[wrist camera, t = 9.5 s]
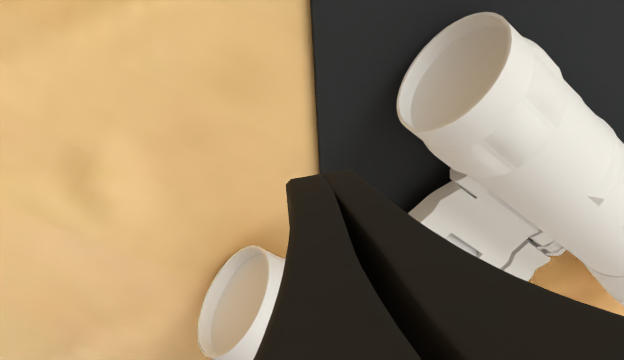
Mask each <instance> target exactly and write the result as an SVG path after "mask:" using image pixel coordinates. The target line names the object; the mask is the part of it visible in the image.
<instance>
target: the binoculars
mask: <svg viewBox="0 0 624 360" xmlns="http://www.w3.org/2000/svg"><path fill="white" fill-rule="evenodd" d="M397 114H398V117H399V119H400V122H401V123H402V124H403V125H404V126H405V127H406V128H407V129H408V130H410V131H411V132H412V133H413V134H415V135H416V136H417V137H419V138H420V139H421V140H423V141H424V144H425V145H426V146H427V148H428V149H429V150H430V151H431V152H432V153H433V154H434V155H435V156H436V157H438V158H439V159H440V160H442V161H443V162H444V163H445V164H447V165H448V166H449V167H451V169H450V179H451V180H453V181H451V182H449V183H448V184H446V185H444V186H442V187H441V188H439V189H437V190H436V191H434V192H433V193H431V194H430V195H429V196H427V197H426V198H425V199H424V200H423V201H421V202H420V203H419V204H418V205H417V206H416V207H415V208H414V209H412V210H411V211H410V212H409V213H408V214H409V215H410V216H412V217H413V218H414V219H416V220H417V221H419V222H420V223H422V224H423V225H425V226H426V227H428V228H429V229H430V230H432V231H434V232H435V233H437V234H438V235H440V236H442V237H443V238H445V239H446V240H448V241H449V242H451V243H453V244H454V245H456V246H458V247H459V248H461V249H463V250H465V251H466V252H468V253H470V254H472V255H474V256H476V257H478V258H480V259H482V260H483V261H485V262H487V263H489V264H491V265H493V266H495V267H497V268H499V269H501V270H503V271H505V272H507V273H509V274H512V275H514V276H516V277H518V278H521V279H523V280H525V281H528V280H529V279H531V278H532V276H533V274H534V272H535V270H536V269H537V268H539V267H541V266H543V265H544V264H546V263H547V262H549V261H550V260H551V259H550V257H549V256H560V255H561V254H563V253H564V252H565V251H566V250H568V251H569V252H570V253H572V254H573V255H574V256H575V257H577V258H578V259H579V260H581V261H582V263H583V264H584V265H585V266H586V267H587V269H588V270H589V271H590V272H591V273H592V275H593V276H594V277H595V278H596V279H597V281H598V282H599V283H600V284H601V285H602V287H603V288H604V289H605V290H606V291H607V292H608V293H609V294H610V295H611V296H612V297H613V298H614V299H615V300H617V301H618V302H619V303H621V304H622V305H623V306H624V143H623V142H622V141H621V140H620V139H619V138H618V137H617V136H616V134H615V132H614V130H613V129H612V128H611V127H610V126H609V125H608V124H607V123H606V122H605V121H604V120H603V119H601V118H600V117H598V116H596V115H595V114H594V113H593V112H592V111H591V110H590V108H589V107H588V106H587V105H586V104H585V103H584V102H583V100H582V98H581V97H580V96H579V95H578V94H577V93H576V92H575V91H574V90H573V89H572V88H571V87H570V86H569V84H568V83H567V82H566V81H565V80H564V79H563V77H562V74H561V71H560V68H559V67H558V66H557V65H556V64H555V63H554V62H553V61H552V59H551V58H550V57H549V56H548V55H547V53H546V52H545V51H544V50H543V49H542V48H541V47H539V46H538V45H537V44H536V43H535V42H533V41H531V40H529V39H527V38H524V37H522V36H521V35H520V34H519V33H518V32H517V31H516V30H515V29H514V28H513V27H512V26H511V25H510V24H509V23H508V22H507V21H506V20H505V19H504V18H503V16H501V15H498V14H496V13H492V12H481V13H475V14H472V15H469V16H466V17H464V18H462V19H460V20H458V21H456V22H454V23H452V24H451V25H449V26H448V27H446V28H445V29H444V30H442V31H441V32H440V33H439V34H437V35H436V36H435V37H434V38H433V39H432V40H431V41H430V42H429V43H428V44H427V45H426V46H425V47H424V48H423V49H422V50H421V52H420V53H419V54H418V55H417V57H416V58H415V59H414V61H413V62H412V64H411V65H410V67H409V69H408V71H407V72H406V74H405V76H404V78H403V81H402V83H401V86H400V89H399V93H398V97H397ZM528 238H530V239H531V240H533V241H531V240H530V239H528ZM285 260H286V258H282V257H278V256H276V255H274V254H272V253H270V252H268V251H267V250H265V249H263V248H261V247H259V246H254V245H251V246H247V247H244V248H242V249H240V250H239V251H238V252H236V253H235V254H234V255H233V256H231V257H230V258H229V259H228V260H227V262H226V263H225V264H224V265H223V266H222V268H221V269H220V270H219V272H218V273H217V275H216V276H215V278H214V280H213V282H212V283H211V285H210V287H209V289H208V291H207V294H206V296H205V298H204V301H203V304H202V307H201V311H200V314H199V319H198V326H197V339H198V345H199V348H200V350H201V352H202V353H203V354H204V355H205V356H207V357H209V358H211V359H214V360H253V359H254V357H255V355H256V353H257V350H258V348H259V346H260V343H261V341H262V338H263V336H264V333H265V330H266V328H267V325H268V322H269V319H270V317H271V314H272V311H273V308H274V304H275V301H276V298H277V295H278V291H279V287H280V283H281V279H282V275H283V270H284V265H285Z"/></svg>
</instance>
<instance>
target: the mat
mask: <svg viewBox="0 0 624 360" xmlns="http://www.w3.org/2000/svg"><path fill="white" fill-rule="evenodd" d="M310 5H311V24H312V42H313V60H314V78H315V96H316V114H317V133H318V151H319V169H320V174H326V173H332V172H338V171H344V170H350V169H351V170H352V171H354V172H355V173H356V174H358V175H359V176H360V177H361V178H363V179H364V180H365V181H366V182H368V183H369V184H370V185H371V186H373V187H374V188H375V189H376V190H378V191H379V192H380V193H381V194H383V195H384V196H385V197H386V198H388V199H389V200H390V201H392V202H393V203H394V204H395V205H397V206H398V207H399V208H401V209H402V210H403V211H405V212H406V213H409V212H410V211H411V210H412V209H414V208H415V207H416V206H417V205H418V204H419V203H420V202H421V201H423V200H424V199H425V198H426V197H427V196H429V195H430V194H431V193H433V192H434V191H436V190H437V189H439V188H441V187H442V186H444V185H446V184H448V183H449V182H451V181H453V180H451V179H450V169H451V167H449V166H448V165H447V164H445V163H444V162H443V161H442V160H440V159H439V158H438V157H436V156H435V155H434V154H433V153H432V152H431V151H430V150H429V149H428V148H427V146H426V145H425V144H424V141H423V140H421V139H420V138H419V137H417V136H416V135H415V134H413V133H412V132H411V131H410V130H408V129H407V128H406V127H405V126H404V125H403V124H402V123H401V122H400V119H399V117H398V114H397V97H398V93H399V89H400V86H401V83H402V81H403V78H404V76H405V74H406V72H407V71H408V69H409V67H410V65H411V64H412V62H413V61H414V59H415V58H416V57H417V55H418V54H419V53H420V52H421V50H422V49H423V48H424V47H425V46H426V45H427V44H428V43H429V42H430V41H431V40H432V39H433V38H434V37H435V36H436V35H437V34H439V33H440V32H441V31H442V30H444V29H445V28H446V27H448V26H449V25H451V24H452V23H454V22H456V21H458V20H460V19H462V18H464V17H466V16H469V15H472V14H475V13H481V12H492V13H496V14H498V15H501V16H503V18H504V19H505V20H506V21H507V22H508V23H509V24H510V25H511V26H512V27H513V28H514V29H515V30H516V31H517V32H518V33H519V34H520V35H521V36H522V37H524V38H527V39H529V40H531V41H533V42H535V43H536V44H537V45H538V46H539V47H541V48H542V49H543V50H544V51H545V52H546V53H547V55H548V56H549V57H550V58H551V59H552V61H553V62H554V63H555V64H556V65H557V66H558V67H559V68H560V71H561V74H562V77H563V79H564V80H565V81H566V82H567V83H568V84H569V86H570V87H571V88H572V89H573V90H574V91H575V92H576V93H577V94H578V95H579V96H580V97H581V98H582V100H583V102H584V103H585V104H586V105H587V106H588V107H589V108H590V110H591V111H592V112H593V113H594V114H595V115H596V116H598V117H600V118H601V119H603V120H604V121H605V122H606V123H607V124H608V125H609V126H610V127H611V128H612V129H613V130H614V132H615V134H616V136H617V137H618V138H619V139H620V140H621V141H622V142H623V143H624V0H310ZM528 239H530V238H528ZM530 240H531V239H530ZM531 241H533V240H531Z"/></svg>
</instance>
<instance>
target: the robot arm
mask: <svg viewBox="0 0 624 360" xmlns="http://www.w3.org/2000/svg"><path fill="white" fill-rule="evenodd" d="M286 192H287V203H288V213H289V224H290V233H289V243H288V250H287V255H286V260H285V265H284V270H283V275H282V279H281V283H280V287H279V291H278V295H277V298H276V301H275V304H274V308H273V311H272V314H271V317H270V319H269V322H268V325H267V328H266V330H265V333H264V336H263V338H262V341H261V343H260V346H259V348H258V350H257V353H256V355H255V357H254V359H253V360H624V316H621V315H618V314H615V313H612V312H609V311H606V310H603V309H600V308H597V307H594V306H591V305H588V304H584V303H581V302H578V301H576V300H573V299H570V298H567V297H565V296H562V295H559V294H557V293H554V292H551V291H549V290H547V289H544V288H542V287H539V286H537V285H535V284H532V283H530V282H528V281H525V280H523V279H521V278H518V277H516V276H514V275H512V274H509V273H507V272H505V271H503V270H501V269H499V268H497V267H495V266H493V265H491V264H489V263H487V262H485V261H483V260H482V259H480V258H478V257H476V256H474V255H472V254H470V253H468V252H466V251H465V250H463V249H461V248H459V247H458V246H456V245H454V244H453V243H451V242H449V241H448V240H446V239H445V238H443V237H442V236H440V235H438V234H437V233H435V232H434V231H432V230H430V229H429V228H428V227H426V226H425V225H423V224H422V223H420V222H419V221H417V220H416V219H414V218H413V217H412V216H410V215H409V214H408V213H406V212H405V211H403V210H402V209H401V208H399V207H398V206H397V205H395V204H394V203H393V202H392V201H390V200H389V199H388V198H386V197H385V196H384V195H383V194H381V193H380V192H379V191H378V190H376V189H375V188H374V187H373V186H371V185H370V184H369V183H368V182H366V181H365V180H364V179H363V178H361V177H360V176H359V175H358V174H356V173H355V172H354V171H352V170H351V169H350V170H344V171H338V172H332V173H326V174H319V175H313V176H307V177H301V178H295V179H291V180H290V181H289V182H288V183H287V184H286Z"/></svg>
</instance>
